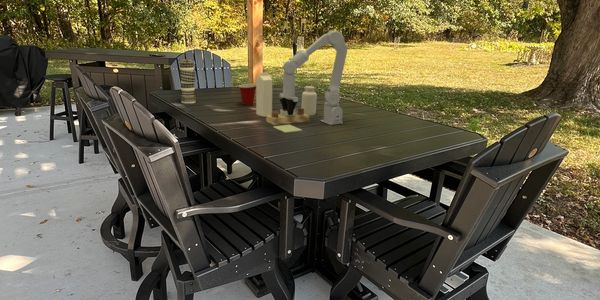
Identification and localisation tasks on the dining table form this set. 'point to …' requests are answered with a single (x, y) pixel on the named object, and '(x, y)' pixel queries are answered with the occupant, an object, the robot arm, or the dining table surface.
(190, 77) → the decorative candle
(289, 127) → the rubber mat
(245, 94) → the plastic cup
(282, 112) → the lever cap
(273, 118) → the plane body
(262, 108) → the milk
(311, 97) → the pill bottle
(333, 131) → the dining table surface
